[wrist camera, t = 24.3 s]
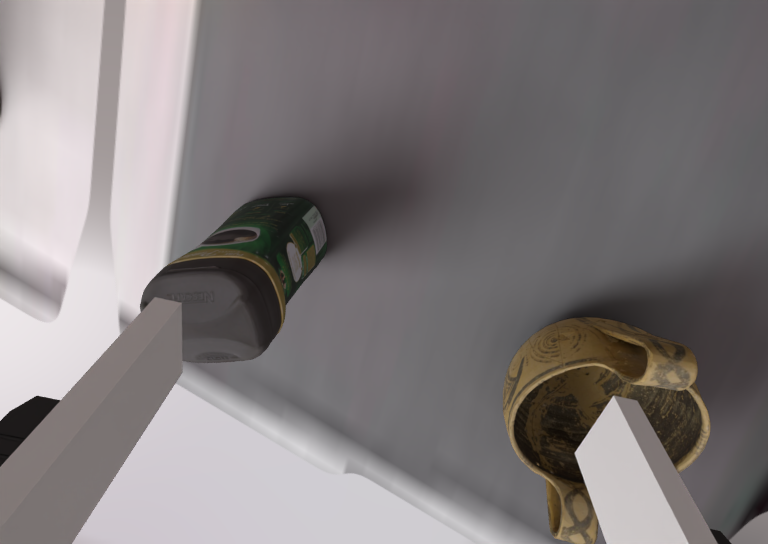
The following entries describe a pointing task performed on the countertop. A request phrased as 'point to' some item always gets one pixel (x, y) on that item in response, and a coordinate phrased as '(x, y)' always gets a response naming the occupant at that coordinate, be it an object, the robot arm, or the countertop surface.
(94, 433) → the robot arm
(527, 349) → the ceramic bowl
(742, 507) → the countertop surface
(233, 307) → the coffee jar
